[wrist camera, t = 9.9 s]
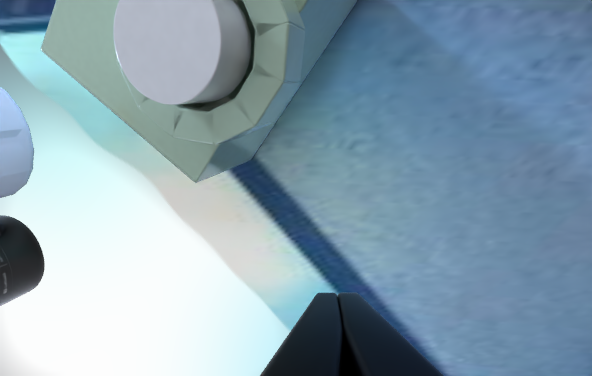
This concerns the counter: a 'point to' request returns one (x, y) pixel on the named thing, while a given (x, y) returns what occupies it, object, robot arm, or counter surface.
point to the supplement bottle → (18, 259)
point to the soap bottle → (13, 147)
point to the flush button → (182, 48)
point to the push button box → (212, 115)
